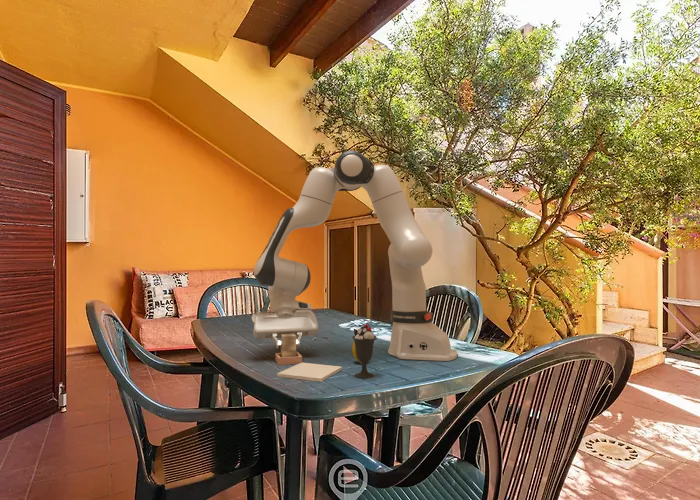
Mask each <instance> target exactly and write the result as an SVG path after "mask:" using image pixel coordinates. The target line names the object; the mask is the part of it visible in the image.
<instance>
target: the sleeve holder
mask: <svg viewBox="0 0 700 500" xmlns="http://www.w3.org/2000/svg"><path fill="white" fill-rule="evenodd" d="M274 355H275V356H274V358H275V359H274V360H275V362H276V364H277V365H278V366H283V365H285V366H286V365H287V366H288V365H297V364H299V363H303V356H302V354H300V352H299V351H296V356H295V357H281V352H275V354H274Z"/></svg>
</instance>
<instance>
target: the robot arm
mask: <svg viewBox="0 0 700 500" xmlns="http://www.w3.org/2000/svg"><path fill="white" fill-rule="evenodd" d="M361 188H363V189H364V190H365V191H366V192H367V195H368V197H369V199H370V201H371V205H372V207H373V210H374V212H375V215H376V217H377V219H378V222H379V225H380V226H381V228H382V229H383V231H384V233H385V235H386V236H387V238H388V240H389V242H390V244H389V247H388V250H387V254H388V262H389V271H390V280H391V289H392V291H391V292H392V293H391V295H392V296H391V297H392V299H391V300H392V301H391V302H392V303H391V304H392V309H391V312H390V324H391V325H390V326H391V335H390V342H389V347H388V349H387V353H388V354H389V355H391V356H393V357H396V358H397V359H400V360H415V361H416V360H419V361H438V362H439V361H440V362H449V361H453V360H456V358H457V357H458V355H459V354H458V353H459V352H458V350H456V349H453V348H452V346H451V340H450V337H449V336H448V334H447V333H446V332H445V331H444V330H442V329H441V328H440V327H438V325H436V324H435V323H433V312H430V311H429V310H427V286H426V283H425V280H424V275H423V270H422V267H423V266H425V265H426V264H427V263H428V262H429V261H430V260H431V258H432V255H433V245H432V243H431V241H430V240H429V239H428V238H427V237H426V235H425V234H424V232H423V230H422V228H421V226H420V225H419V223H418V221H417V219H416V218H415V216H414V214H413V212H412V210H411V207H410V205H409V203H408V199H407V198H406V195H405V192H404V190H403V188H402V185H401V183H400V181H399V179H398V177H397V175H396V174H395V171H393V169H392V168H391V167H390V166H389V165H387V164H378V165H374V163H373V162H372V161H371V160H370V159H368V157H366V156H365V155H364V154H362V153H360V152H359V151H356V150H346V151H344V152H342V153H340V155H339V156H338V157H337V158H336V160H335V163H334V166H333V167H331V168H326V167H323V166H319V167H314V168H313V169H311V170H310V172H309V174H308V176H307V177H306V180H305V182H304V184H303V186H302V189H301V191H300V195H299V198H298V199H297V202H296V203H295V204H294V206H292V207H290V208H289V207H288V208H286V210H285V211H284V212H283V214H282V215H281V217H280V218H279V220H278V222H277V224H276V226H275V228H274V230H273V232H272V234H271V236H270V238H269V240H268V241H267V244H266V246H265V247H264V249H263V251H262V253H261V254H260V256H259V258H258V259H257V261H256V263H255V265H254V268H253V276H254V277H255V279H256V281H257V283H258V284H259V285H260V286H266V287H267V291H268V292H267V293H268V297H269V301H270V302H269V311H266V310H265V311H256V312H255V313H253V314H252V315H251V322H252V323H253V337H254V339H258V340H259V339H271V340H272V342H273V343H274V344H275V345H276V346H275V347H276V349H277V350H279V349H281V348H282V341H281V340H279V339H278V338H281V334H295V335H296V348H300V345H301V344H300V341H301V339H302V337H311V336H316V335H317V333H318V332H319V324H318V323H319V322H318V319H317V317H316V315H315V313H314V311H312V304H310V303H308V302H302V301H300V300H297V299H296V297H298V296H300V295H301V294H302V293H303V292H305V291H306V290H307V289H308V288H309V286H310V284H311V280H312V279H311V277H312V276H311V272H310V268H309V266H308V264H306V263H303V262H299V261H296V260H291V259H287V258H284V257H280V256H279V255H280V252H281V251H282V248H283V247H284V245H285V243H286V240H287V238H288V237H289V235H290V234H291V233H292V232H293V231H295V230H298V229H305V228H313V227H317V226H320V225H321V224H323V223H325V222H326V221H327V220H328V218H329V216H330V213H331V210H332V207H333V204H334V200H335V197H336V195H337V193H338V192H352V191H357V190H358V189H361Z"/></svg>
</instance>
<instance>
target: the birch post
mask: <svg viewBox="0 0 700 500" xmlns="http://www.w3.org/2000/svg"><path fill="white" fill-rule="evenodd" d="M296 340H297V337H296V335H295V334H281V337H280V341H282V348H280V353H281V357H295V356H296V352H297V347H296Z"/></svg>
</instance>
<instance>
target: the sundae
mask: <svg viewBox="0 0 700 500" xmlns="http://www.w3.org/2000/svg"><path fill="white" fill-rule="evenodd" d="M372 321H373V319H372V318H369V320H368V321H367V323H365V324H364V325H363V326H361V327H359V328H358V330H357V329H356V328H354V329H353V333H354V334H353V335H352V336H351V338H352V340H353V342H355V349H356V355H357V358H358V359H359V360H360V361H361V362H362V363H361V370H360V372H357V373H355V374H354V376H355V377H356V378H359V379H371V378H373V377H374V374H373V373H371V372H369V371H368V369H367V363H368V362H369V361H370V360H371V359H372V357H373V353H374V343H375V341H376V340H377V339H378V338H377V336H376V335H375V333H374V332H373V331H372V328H371V327H370V323H371V322H372Z"/></svg>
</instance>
